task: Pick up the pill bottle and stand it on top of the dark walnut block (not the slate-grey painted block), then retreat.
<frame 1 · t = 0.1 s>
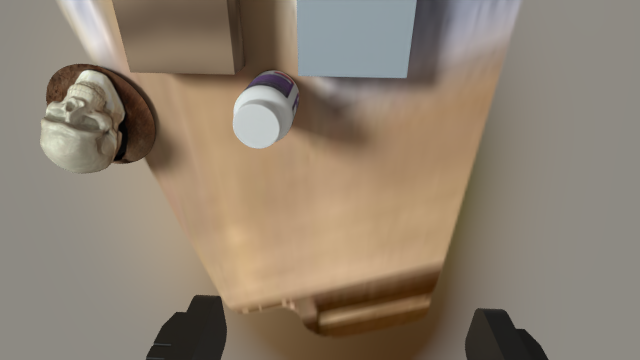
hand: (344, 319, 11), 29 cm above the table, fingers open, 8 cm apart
skull: (105, 116, 40), on the table
pill bottle: (275, 94, 37), on the table
walnut block: (188, 11, 33), on the table
slate block: (353, 14, 33), on the table
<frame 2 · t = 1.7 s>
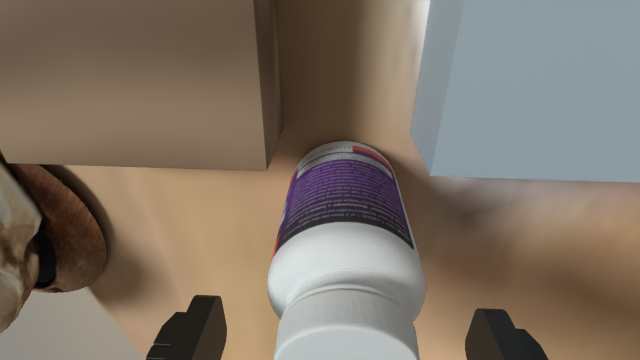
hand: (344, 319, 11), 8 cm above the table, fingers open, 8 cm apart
skull: (9, 216, 20), on the table
pill bottle: (343, 184, 18), on the table
walnut block: (153, 11, 14), on the table
slate block: (559, 16, 13), on the table
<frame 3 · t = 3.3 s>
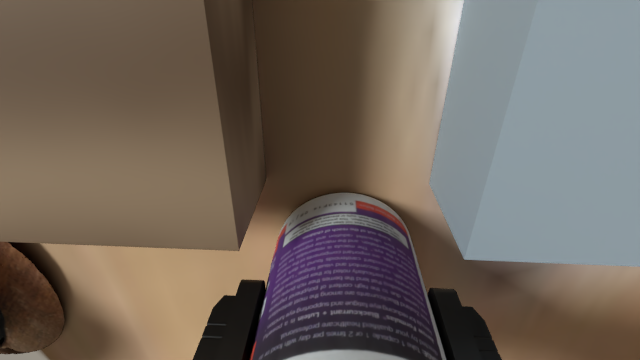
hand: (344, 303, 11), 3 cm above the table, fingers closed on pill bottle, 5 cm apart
pill bottle: (343, 241, 14), on the table, touching gripper
walnut block: (92, 31, 10), on the table
slate block: (633, 39, 10), on the table
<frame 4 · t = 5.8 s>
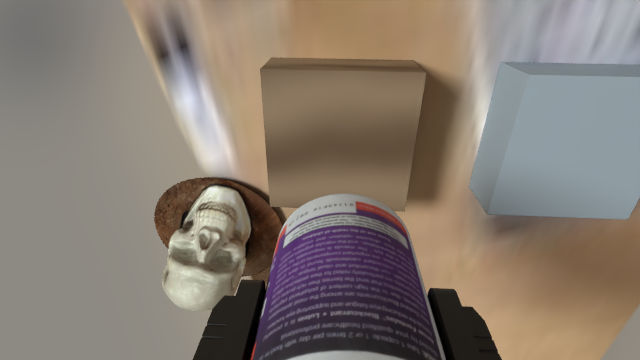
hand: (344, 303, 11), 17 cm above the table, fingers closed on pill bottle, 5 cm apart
skull: (222, 227, 32), on the table
pill bottle: (343, 242, 14), point 14 cm above the table, touching gripper
walnut block: (339, 126, 26), on the table
slate block: (550, 132, 26), on the table
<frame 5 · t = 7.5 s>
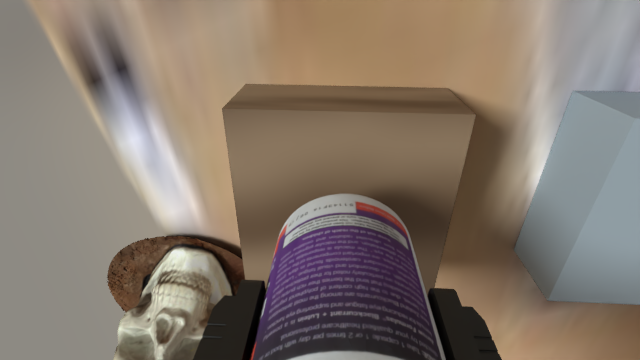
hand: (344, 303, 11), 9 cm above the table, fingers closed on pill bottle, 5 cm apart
skull: (196, 291, 25), on the table
pill bottle: (343, 242, 14), point 6 cm above the table, touching gripper
walnut block: (341, 174, 19), on the table
slate block: (632, 183, 19), on the table
when the fingers open (8 cm above the table, at t = 8.8 s): pill bottle stays where it is, resting on walnut block.
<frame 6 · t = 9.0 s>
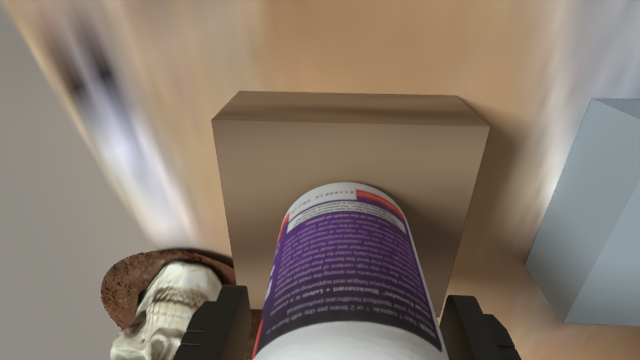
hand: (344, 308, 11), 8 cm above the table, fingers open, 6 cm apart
skull: (195, 306, 24), on the table
pill bottle: (344, 229, 15), point 4 cm above the table, touching walnut block
walnut block: (342, 186, 18), on the table
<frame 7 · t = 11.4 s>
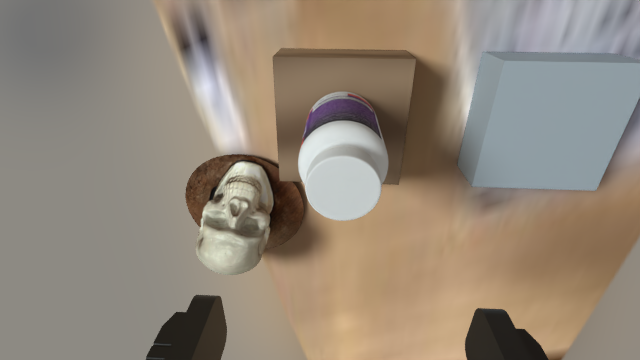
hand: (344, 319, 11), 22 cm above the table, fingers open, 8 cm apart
skull: (246, 202, 35), on the table
pill bottle: (341, 124, 26), point 4 cm above the table, touching walnut block
walnut block: (340, 110, 30), on the table
slate block: (528, 114, 29), on the table
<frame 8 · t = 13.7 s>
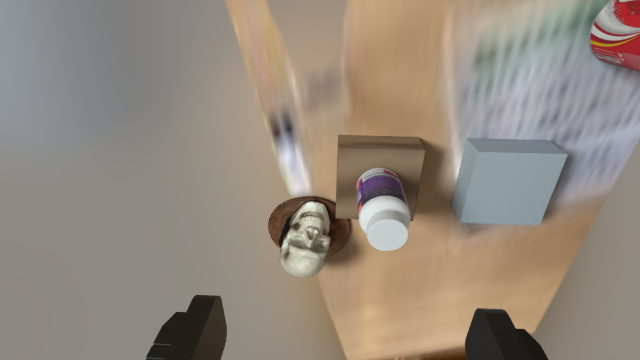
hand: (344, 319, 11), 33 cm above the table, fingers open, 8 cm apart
skull: (309, 227, 51), on the table
pill bottle: (377, 185, 42), point 4 cm above the table, touching walnut block
walnut block: (374, 171, 45), on the table
soda can: (619, 25, 36), on the table
slate block: (497, 174, 45), on the table
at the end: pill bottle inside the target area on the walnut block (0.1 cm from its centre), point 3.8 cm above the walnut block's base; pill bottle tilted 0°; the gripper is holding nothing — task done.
